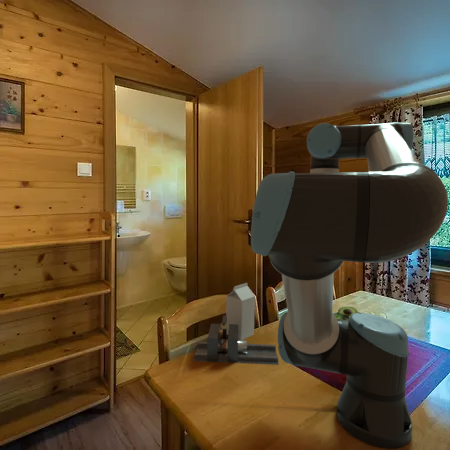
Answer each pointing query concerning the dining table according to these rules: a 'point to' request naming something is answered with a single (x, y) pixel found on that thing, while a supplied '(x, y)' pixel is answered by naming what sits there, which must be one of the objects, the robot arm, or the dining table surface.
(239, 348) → the tube
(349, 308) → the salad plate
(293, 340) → the robot arm
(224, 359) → the collar rail
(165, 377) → the dining table surface
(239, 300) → the milk carton
